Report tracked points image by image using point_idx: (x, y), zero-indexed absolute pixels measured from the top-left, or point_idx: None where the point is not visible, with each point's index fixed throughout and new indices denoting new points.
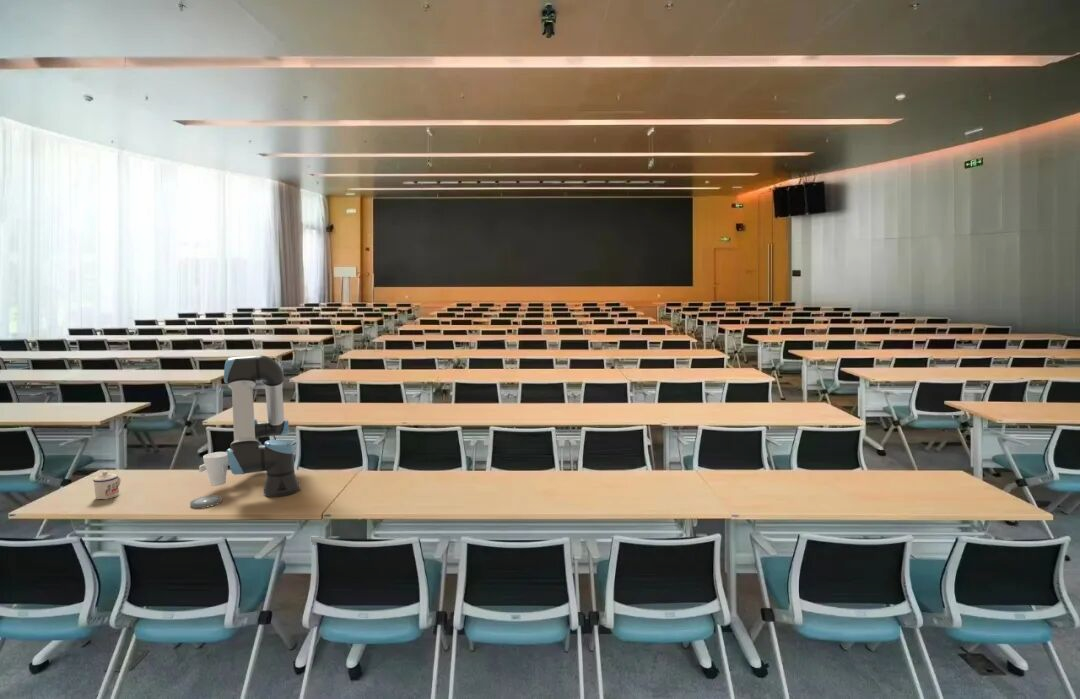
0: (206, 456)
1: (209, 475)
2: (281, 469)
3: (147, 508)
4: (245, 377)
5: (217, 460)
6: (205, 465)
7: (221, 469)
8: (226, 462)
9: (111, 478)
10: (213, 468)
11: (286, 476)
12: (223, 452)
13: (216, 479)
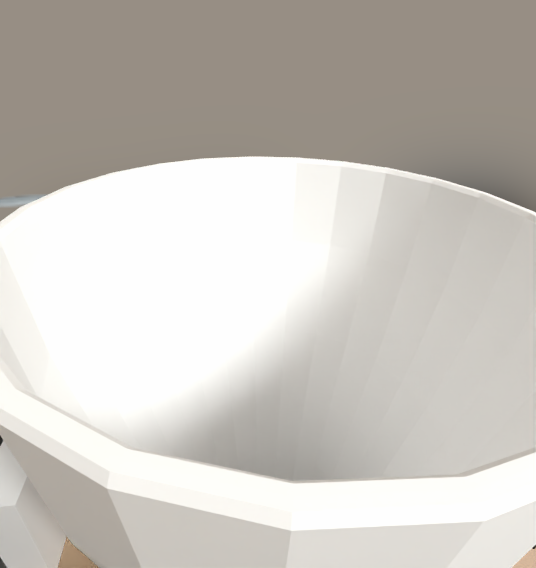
0: (526, 261)
1: (309, 406)
2: None
3: None
4: None
5: (153, 219)
6: (350, 286)
7: (149, 385)
8: (63, 377)
9: None
10: (226, 313)
11: None
12: (350, 488)
13: (227, 451)
